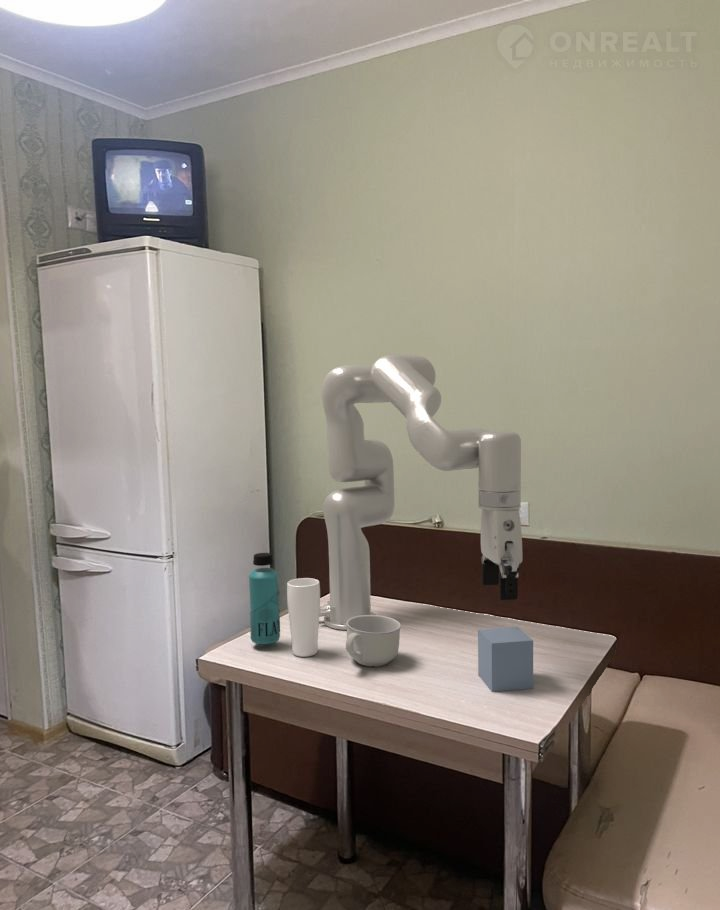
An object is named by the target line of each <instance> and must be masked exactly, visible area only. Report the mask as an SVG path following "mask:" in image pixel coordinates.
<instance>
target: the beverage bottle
mask: <svg viewBox="0 0 720 910" xmlns="http://www.w3.org/2000/svg"><path fill="white" fill-rule="evenodd" d="M273 563H274V560H273V554H272V553H270V552H259V553H254V554H253V560H252V564H253V565H254V566H256V567H257V566H258V568H255V569H253V570H252V571H251V572H250V573H249V574H248V582H249V584H248V585H249V588H248V589H249V608H250V610H249V619H250V620H249V621H250V622H249V623H250V624H249V625H250V631H249V632H250V640H251V642H252V643H254V644H258V645H269V644H274V643H275V642H276V643H277V642H278V641H279V640H280V638H281V620H280V619H281V614H280V612H281V611H280V606H281V605H280V589H279V574H278V572H277V571H276V569H274V568H272V567H265V566H270V565H273Z"/></svg>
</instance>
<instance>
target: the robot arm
mask: <svg viewBox="0 0 720 910" xmlns="http://www.w3.org/2000/svg"><path fill="white" fill-rule="evenodd" d="M435 382H436V371H435V367H434V365H433V364H432V362H431V361H430V360H429V359H428V358H426V357H425V356H422V355H418V354H417V355H415V354H387V355H383V356H381V357H379V358H378V359H377V360H376V361H375V362H374V363H373V364H372V365H369V364H367V365H366V364H348V365H347V364H346V365H341V366H337V367H335V368H333V369H332V370H330V371H329V372H328V373H327V374H326V376H325V378H324V379H323V383H322V385H321V401H322V407H323V410H324V411H323V412H324V415H325V420H326V440H327V441H326V442H327V463H328V464H327V465H328V471H329V474H330V476H331V477H330V478H332V479H333V480H334V481H336V482H337V483H338V482H340V483H352V482H355V483H356V482H362V481H363V482H364V485H363V486H353V487H344V488H339V489H336V490H333V491H332V492H330V493H329V494H328V495H327V496H326V498H325V500H324V501H323V502H324V503H323V506H322V507H323V508H322V510H323V518H324V522H325V525H326V526H325V527H326V531H327V540H328V541H327V543H328V565H329V566H328V567H329V569H328V570H329V575H328V577H329V600H328V601H327V604H323V605H322V606H320V613H319V618H320V617H323V623H324V625H326V627H328V628H331V629H335V630H342V631H347V621H348V620H349V619H350V618H353V617H355V616H361V615H377V614H376V613H374V612H373V611H371V607H372V606H371V605H372V604H371V561H370V560H371V555H370V553H371V552H370V545H369V542H368V539H367V538H366V536H365V534H364V533H363V530H362V528H366V527H373V526H377V525H382V524H384V523H386V522H388V521H389V520H390V519H391V518H392V516H393V513H394V510H395V480H394V479H395V476H394V475H395V473H394V459H393V456H392V452H391V450H390V448H389V446H387V444H386V443H384V442H383V441H382V440H379V439H365V433H364V432H365V428H364V427H365V424H364V421H363V418H362V415H361V414H360V411H359V410H358V409H357V407H356V406H355V404H368V403H369V404H370V403H371V404H375V403H379V404H380V403H391V404H392V405H393V406H394V407H395V408H396V409H397V410H398V411H399V412H400V414H402V415H403V416H404V417H405V419H406V432H407V436H408V440H409V442H410V444H411V445H412V447H413V448H414V449H415V450H416V452H418V454H419V455H420V456H421V457H422V458H423V459H424V460H425V461H426V462H427V463H429V464H430V465H431V466H432V467H434V468H435V469H437V470H439V471H442V472H444V471H445V472H453V471H459V470H472V469H478V508H479V509H481V518H480V519H481V520H480V521H481V522H480V553H481V554H482V556H481V584H482V585H483V586H495V585H496V586H497V585H499V588H498V591H499V593H498V594H499V595H498V596H499V597H498V599H499V600H501V601H513V600H518V596H519V592H518V591H519V586H518V585H519V571H520V567H519V566H520V565H521V563H523V539H522V538H523V537H522V521H521V515H520V514H521V513H520V510H519V509H521V505H522V504H521V503H522V502H521V497H522V496H521V493H522V492H521V491H522V490H521V489H522V486H521V485H522V483H521V482H522V481H521V480H522V477H521V475H522V438H521V436H520V435H519V434H518V433H517V432H514V431H505V430H503V431H499V430H498V431H495V430H494V431H492V430H487V429H483V428H465V429H463V428H462V429H448V430H447V429H445V428H444V427H443V426H442V425H440V423H438V422H437V421H436V419H434V418H433V417H434V416H435V415H436V414H437V412H438V411H439V409H440V408H441V404H442V395H441V392H440V391H439V389H437V387H435V386H434V385H435ZM500 575H501V577H500Z"/></svg>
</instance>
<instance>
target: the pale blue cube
mask: <svg viewBox="0 0 720 910" xmlns="http://www.w3.org/2000/svg"><path fill="white" fill-rule="evenodd" d="M477 643H478V644H477V646H478V647H477V652H478V653H477V657H478V658H477V661H478V662H477V665H478V666H477V668H478V669H477V670H478V671H477V674H478V676H479V678H480V679H481V680H482V682H483V683H484V684H485V685H486V686H487V687H488V689H489V690H490V691H491V693H492V692H493V693H494V692H495V693H496V692H506V691H518V690H528V689H529V690H530V689H534V640H533V639H532V638H531V637H530V636H529V635H527V634H526V632H525V631H523V630H522V629H521V628H520V627H518V626H507V627H493V628H478V629H477Z"/></svg>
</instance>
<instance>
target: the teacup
mask: <svg viewBox="0 0 720 910" xmlns="http://www.w3.org/2000/svg"><path fill="white" fill-rule="evenodd" d="M401 627H402V624H401V622H399V620H397V619H395V618H392V617H389V616H386V615H379V614H376V615H361V616H355V617H353V618H350V619H349V620H348V621H347V630H346V639H345V640H346V641H345V650H346V651H347V653H348V655H349V656H350V657H351V658H353V660H355V662H356V663H358V664H359V665H362V666H365V667H372V666H375V667H382V666H386V665H388V664H389V662H390V661H393V660H394V659H395V658H396V656H397V655H398V653H399V648H400V637H401V635H400V634H401V633H400V632H401Z"/></svg>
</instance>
